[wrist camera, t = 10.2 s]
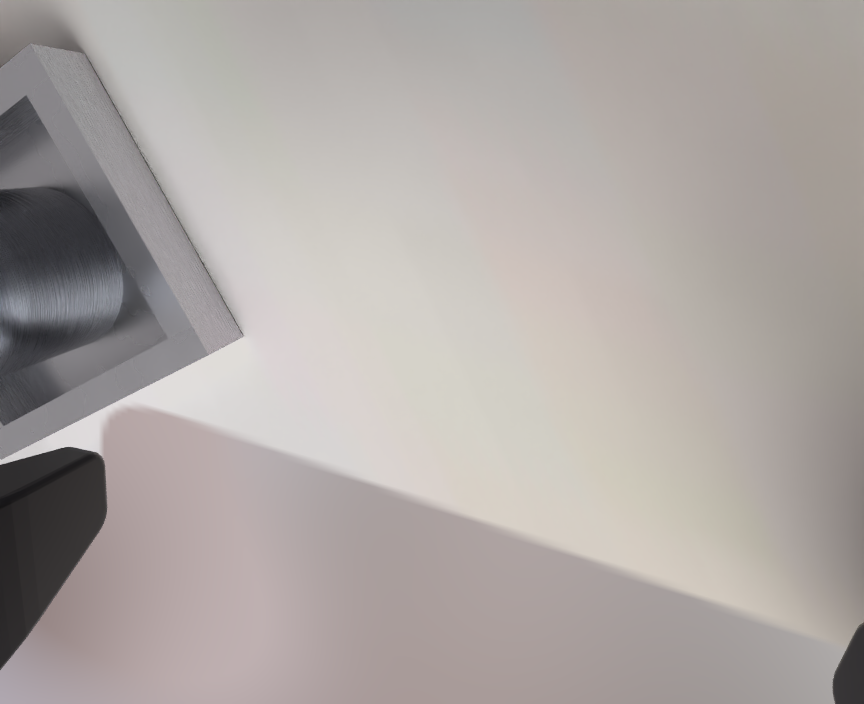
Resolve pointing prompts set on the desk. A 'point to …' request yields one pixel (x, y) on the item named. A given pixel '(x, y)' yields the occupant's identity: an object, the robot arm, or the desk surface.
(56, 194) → the dark grey tall cylinder
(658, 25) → the desk surface
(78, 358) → the square pan with handle
